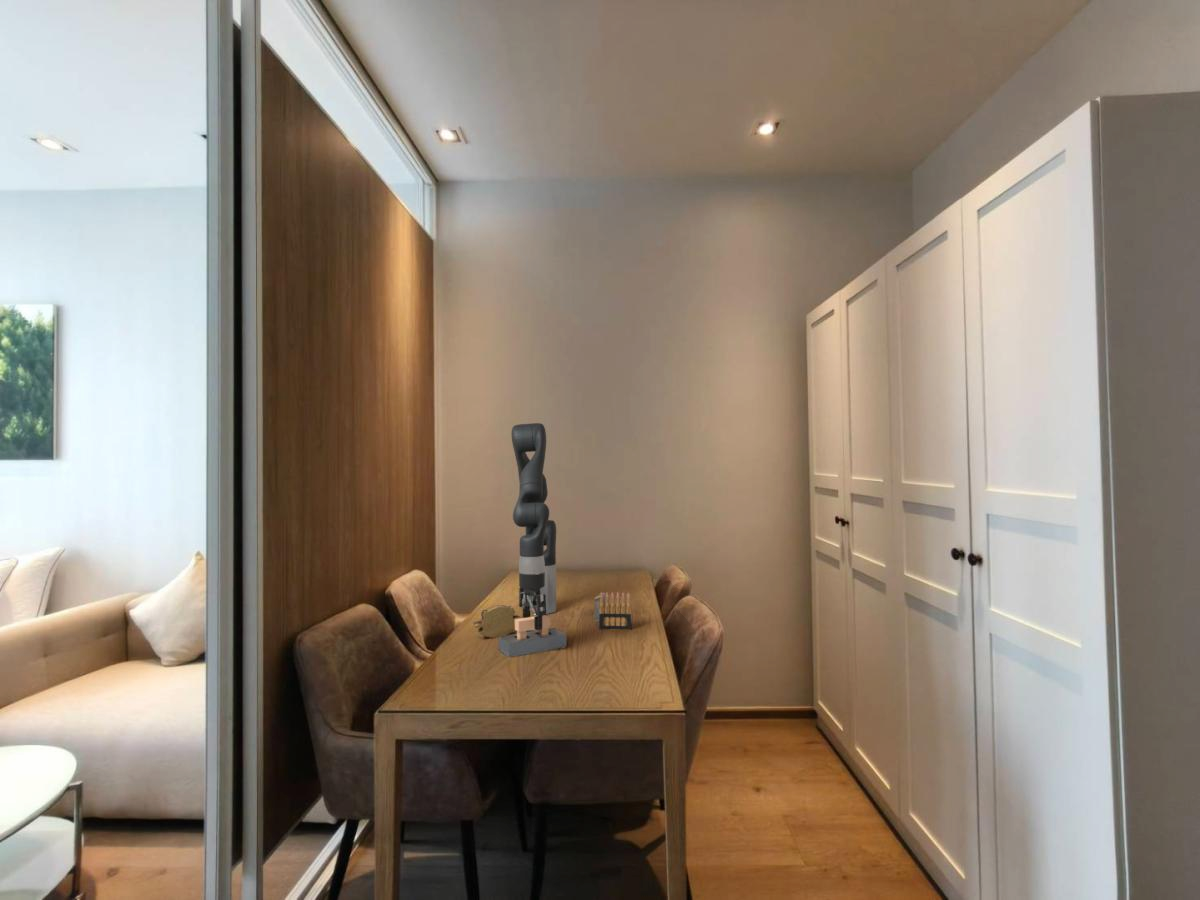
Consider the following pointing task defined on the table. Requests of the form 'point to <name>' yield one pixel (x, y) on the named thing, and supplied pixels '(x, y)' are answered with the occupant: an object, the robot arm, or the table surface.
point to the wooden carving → (497, 621)
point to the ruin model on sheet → (596, 606)
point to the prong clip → (531, 626)
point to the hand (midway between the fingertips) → (532, 626)
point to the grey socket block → (532, 642)
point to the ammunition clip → (621, 613)
